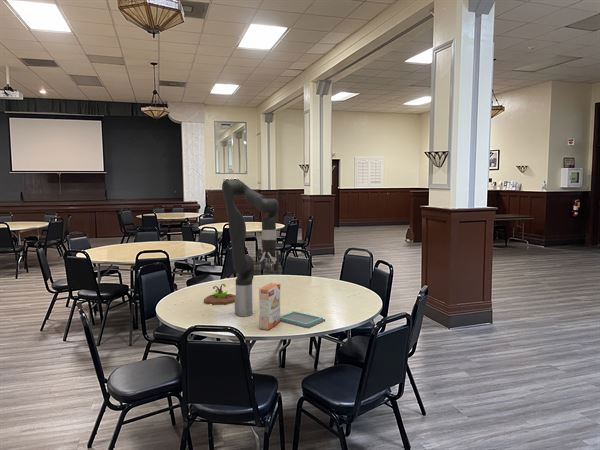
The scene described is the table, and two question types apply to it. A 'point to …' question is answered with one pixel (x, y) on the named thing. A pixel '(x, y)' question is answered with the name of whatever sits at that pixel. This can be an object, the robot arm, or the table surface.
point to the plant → (220, 297)
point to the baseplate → (301, 319)
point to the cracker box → (269, 306)
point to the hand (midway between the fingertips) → (269, 269)
